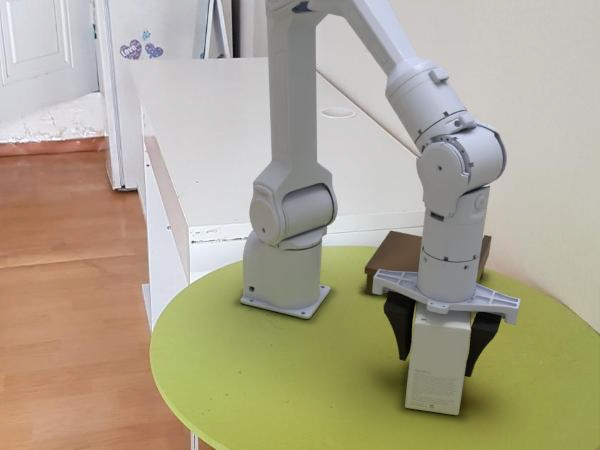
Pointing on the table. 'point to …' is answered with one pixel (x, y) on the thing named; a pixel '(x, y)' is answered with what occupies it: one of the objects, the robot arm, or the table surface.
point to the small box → (438, 360)
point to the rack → (408, 256)
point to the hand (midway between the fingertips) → (435, 363)
